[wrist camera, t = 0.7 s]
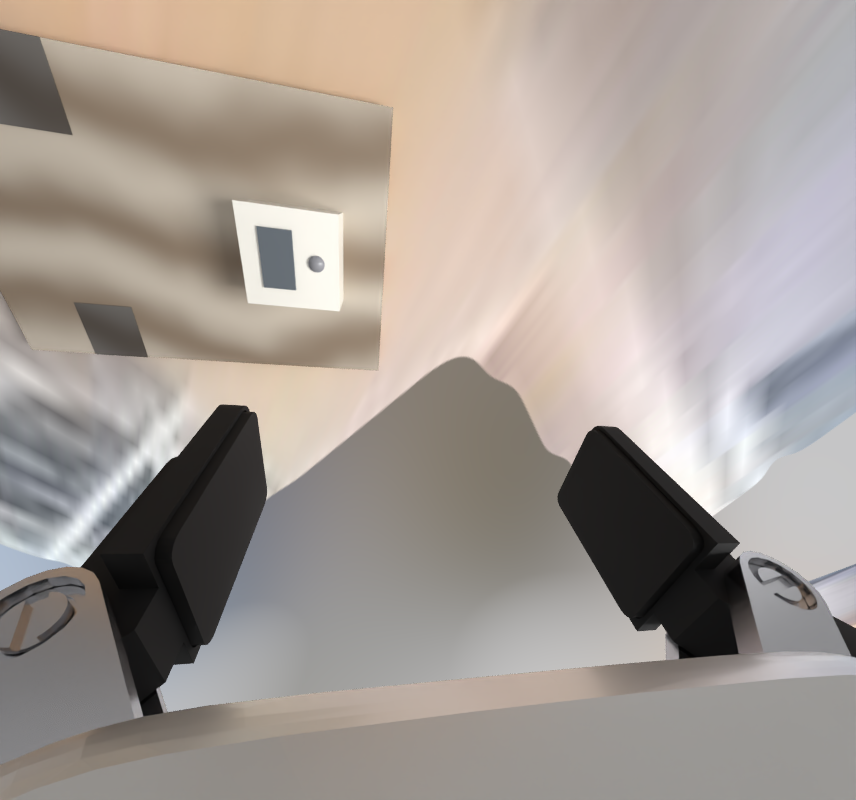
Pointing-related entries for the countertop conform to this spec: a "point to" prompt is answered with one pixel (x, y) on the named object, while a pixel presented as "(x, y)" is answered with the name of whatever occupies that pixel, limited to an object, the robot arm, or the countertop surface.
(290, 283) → the thermostat
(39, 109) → the subfloor panel
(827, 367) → the countertop surface
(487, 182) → the countertop surface
